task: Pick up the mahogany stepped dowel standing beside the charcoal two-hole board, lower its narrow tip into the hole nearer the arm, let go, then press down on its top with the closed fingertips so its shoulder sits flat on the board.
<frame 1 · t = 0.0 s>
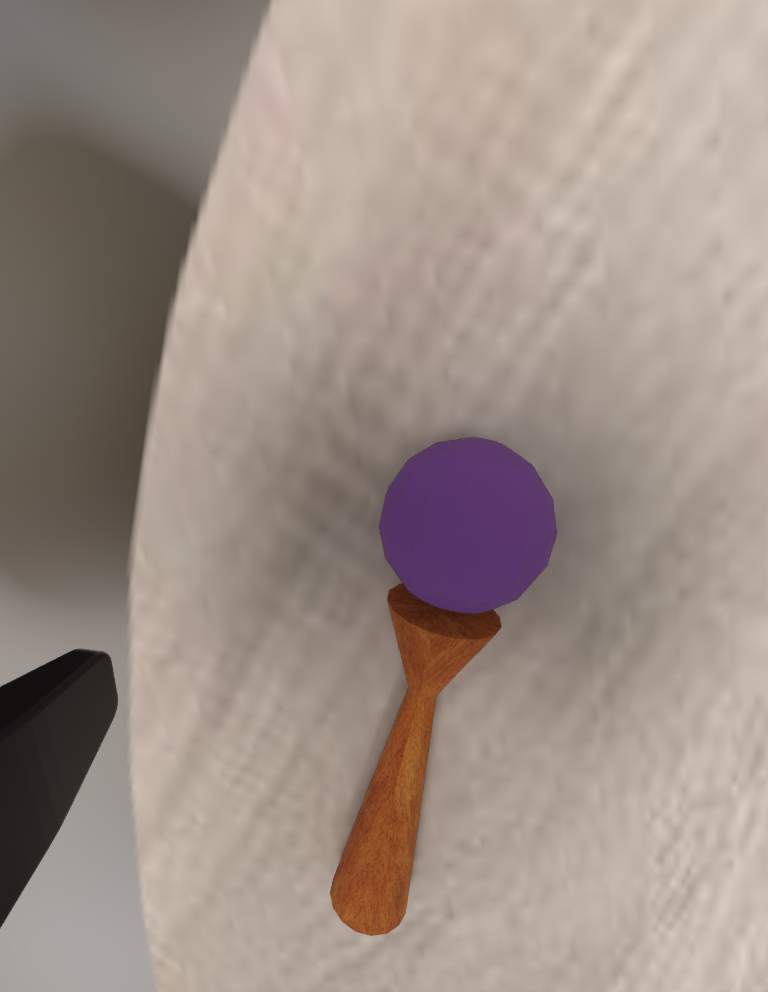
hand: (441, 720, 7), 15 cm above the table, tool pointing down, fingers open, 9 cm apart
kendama: (422, 665, 24), on the table
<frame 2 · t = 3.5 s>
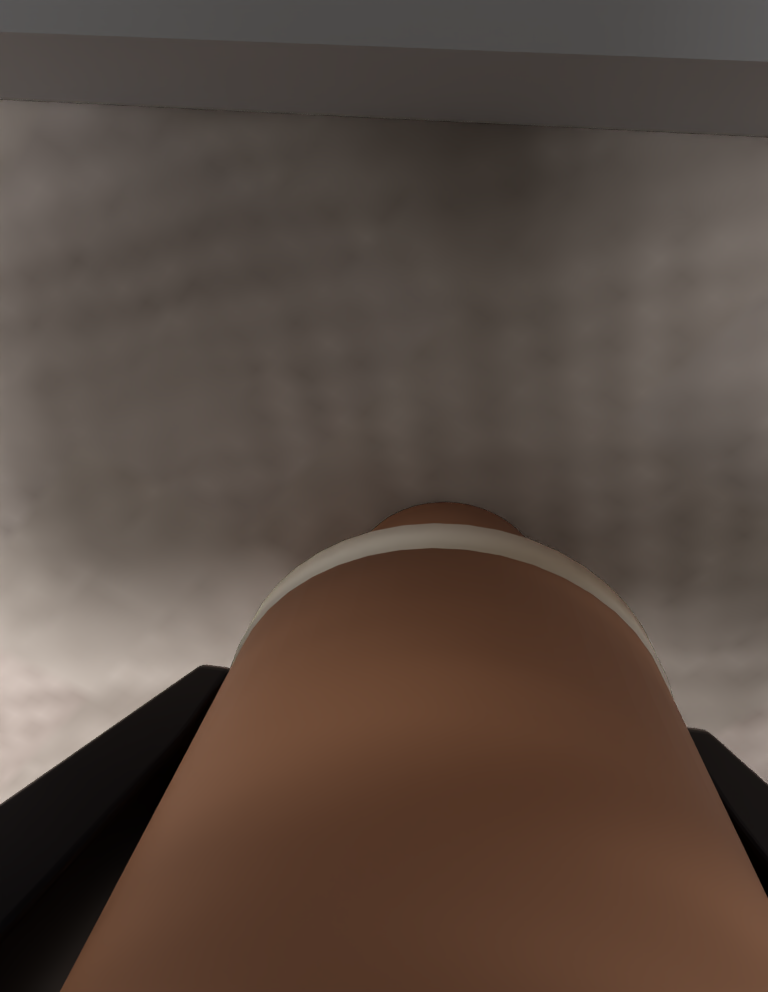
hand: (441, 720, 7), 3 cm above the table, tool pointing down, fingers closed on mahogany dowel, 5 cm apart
mahogany dowel: (445, 589, 10), on the table, touching gripper
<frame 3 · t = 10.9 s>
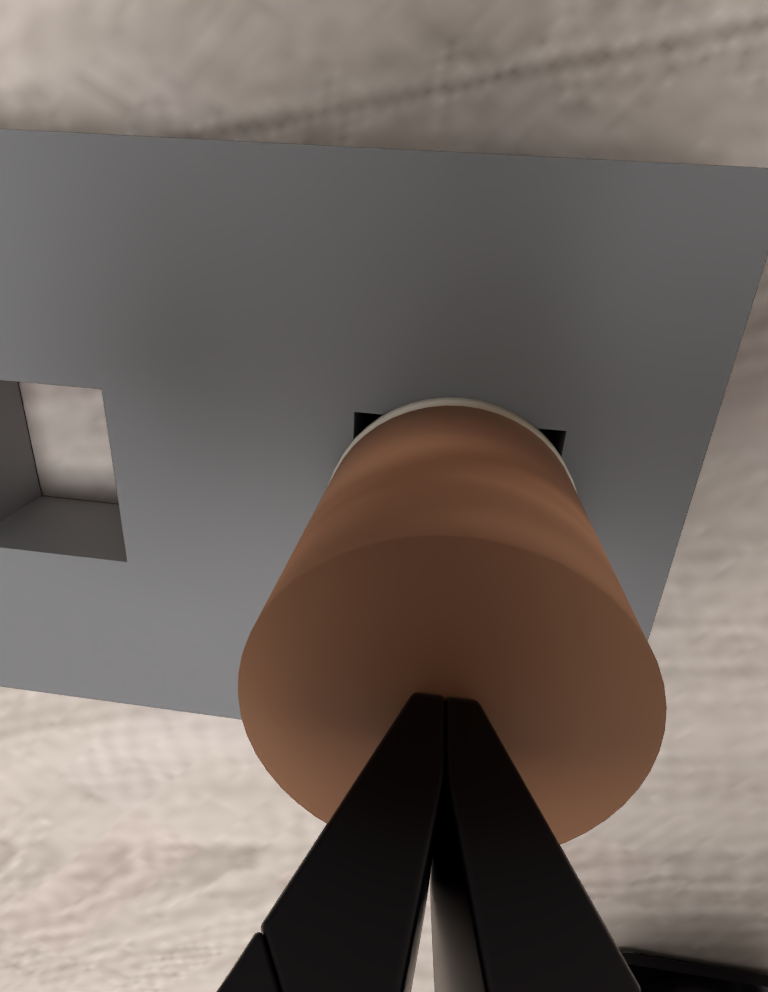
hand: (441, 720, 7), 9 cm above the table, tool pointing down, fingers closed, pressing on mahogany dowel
mahogany dowel: (450, 471, 15), resting in charcoal board, touching gripper
charcoal board: (269, 450, 16), on the table
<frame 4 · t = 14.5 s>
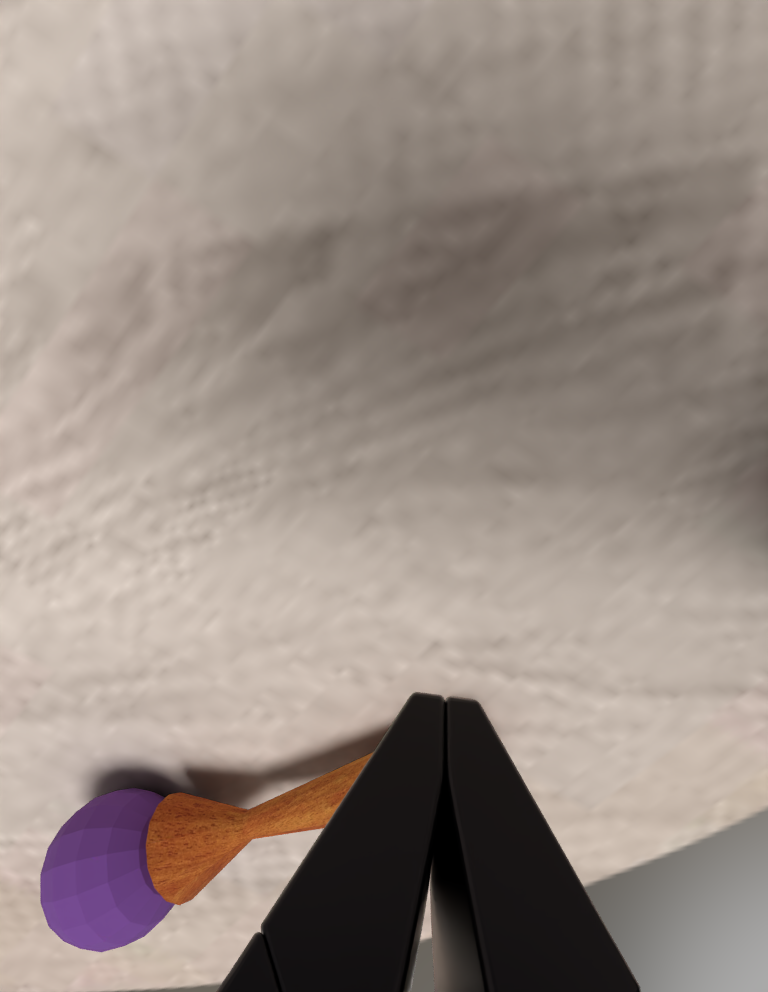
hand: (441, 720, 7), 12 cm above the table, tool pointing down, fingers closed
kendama: (274, 770, 26), on the table
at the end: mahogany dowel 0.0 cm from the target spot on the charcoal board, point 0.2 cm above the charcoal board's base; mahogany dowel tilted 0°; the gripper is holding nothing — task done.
